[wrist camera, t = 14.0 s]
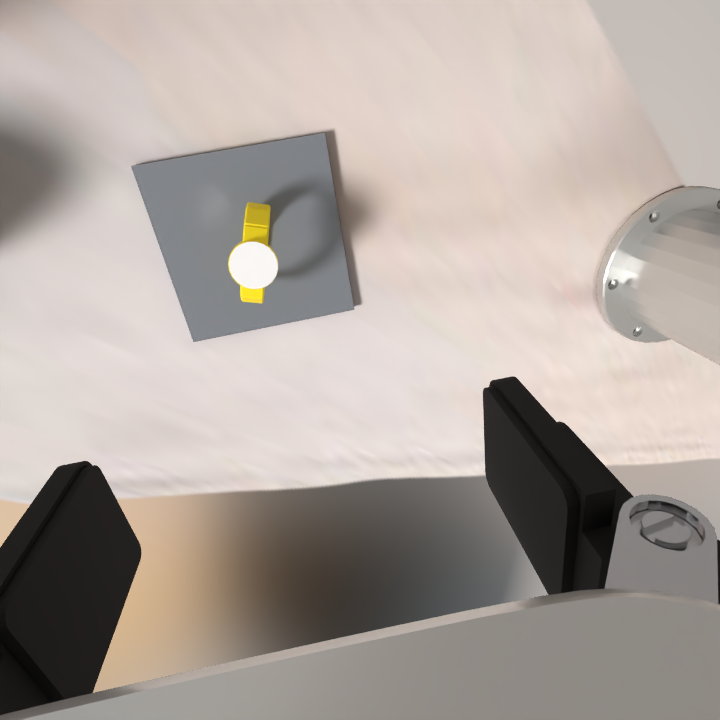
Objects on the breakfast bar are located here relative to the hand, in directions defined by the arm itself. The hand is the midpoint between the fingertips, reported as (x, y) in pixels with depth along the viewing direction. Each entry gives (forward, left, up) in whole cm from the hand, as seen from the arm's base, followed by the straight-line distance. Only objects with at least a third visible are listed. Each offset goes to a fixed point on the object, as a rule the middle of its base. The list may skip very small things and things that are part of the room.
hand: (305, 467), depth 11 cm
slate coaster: (+2, -1, -24) cm, 24 cm away
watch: (+2, -1, -23) cm, 23 cm away
